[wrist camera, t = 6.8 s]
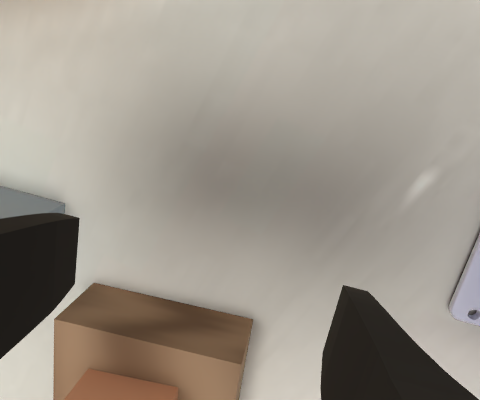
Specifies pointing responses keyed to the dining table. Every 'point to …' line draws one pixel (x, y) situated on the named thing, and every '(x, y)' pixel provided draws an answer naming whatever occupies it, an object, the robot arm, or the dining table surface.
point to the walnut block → (150, 343)
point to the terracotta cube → (119, 388)
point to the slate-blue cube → (26, 204)
